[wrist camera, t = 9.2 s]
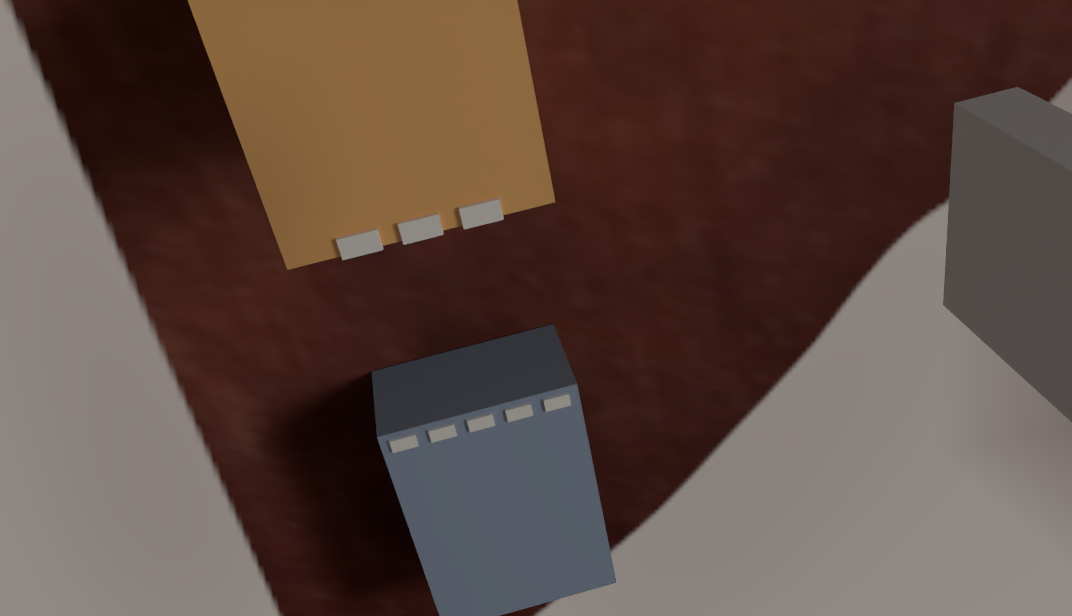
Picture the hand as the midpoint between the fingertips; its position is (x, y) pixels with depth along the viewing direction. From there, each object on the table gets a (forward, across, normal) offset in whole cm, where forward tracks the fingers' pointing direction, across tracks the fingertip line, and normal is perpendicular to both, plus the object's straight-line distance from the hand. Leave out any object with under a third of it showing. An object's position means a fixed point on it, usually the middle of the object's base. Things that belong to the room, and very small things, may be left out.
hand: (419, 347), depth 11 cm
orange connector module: (+21, 0, -1) cm, 21 cm away
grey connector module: (+21, 0, -19) cm, 28 cm away
